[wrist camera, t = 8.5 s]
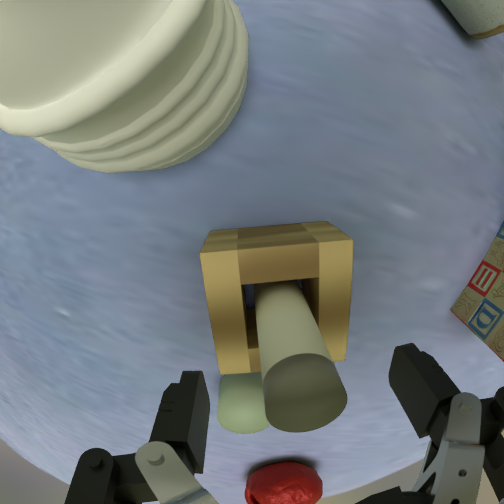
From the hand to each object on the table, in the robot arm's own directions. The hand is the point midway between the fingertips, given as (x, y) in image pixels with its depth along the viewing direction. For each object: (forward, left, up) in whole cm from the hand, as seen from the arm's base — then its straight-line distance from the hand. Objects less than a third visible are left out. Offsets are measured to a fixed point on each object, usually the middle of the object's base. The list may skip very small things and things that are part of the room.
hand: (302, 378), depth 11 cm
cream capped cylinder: (0, 0, -10) cm, 10 cm away
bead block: (0, 0, -10) cm, 10 cm away
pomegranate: (+28, 0, -11) cm, 30 cm away
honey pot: (-15, -7, -11) cm, 20 cm away
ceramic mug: (-26, +21, -11) cm, 35 cm away
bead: (+10, -3, -10) cm, 15 cm away
